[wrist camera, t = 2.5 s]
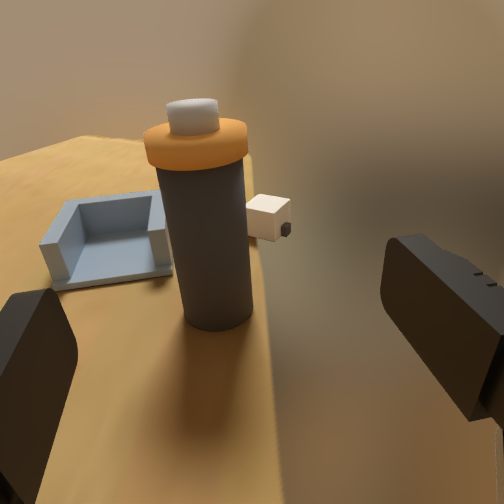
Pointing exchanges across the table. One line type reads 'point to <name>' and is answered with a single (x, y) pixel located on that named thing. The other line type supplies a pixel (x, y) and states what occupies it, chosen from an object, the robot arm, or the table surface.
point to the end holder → (108, 241)
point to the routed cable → (268, 217)
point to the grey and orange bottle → (205, 210)
